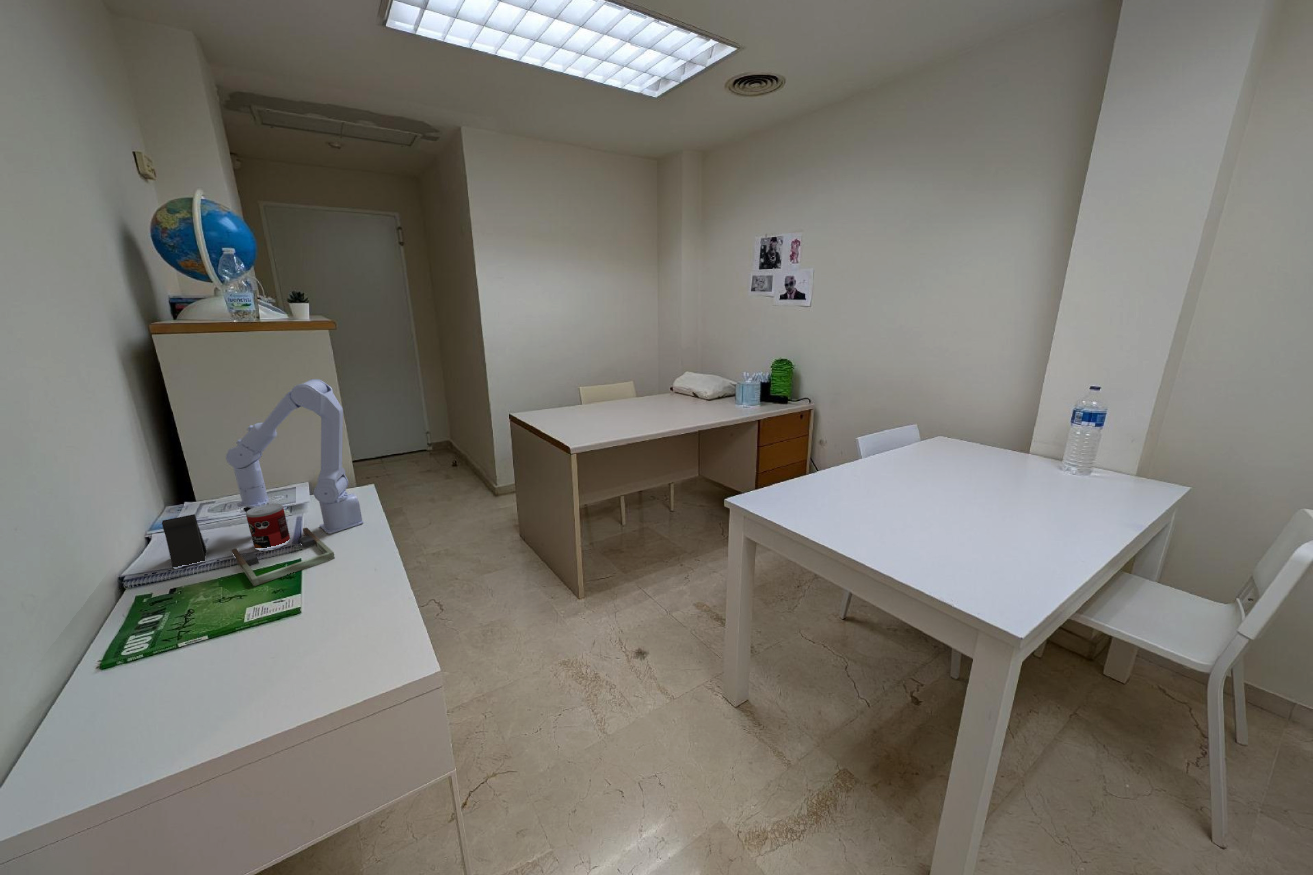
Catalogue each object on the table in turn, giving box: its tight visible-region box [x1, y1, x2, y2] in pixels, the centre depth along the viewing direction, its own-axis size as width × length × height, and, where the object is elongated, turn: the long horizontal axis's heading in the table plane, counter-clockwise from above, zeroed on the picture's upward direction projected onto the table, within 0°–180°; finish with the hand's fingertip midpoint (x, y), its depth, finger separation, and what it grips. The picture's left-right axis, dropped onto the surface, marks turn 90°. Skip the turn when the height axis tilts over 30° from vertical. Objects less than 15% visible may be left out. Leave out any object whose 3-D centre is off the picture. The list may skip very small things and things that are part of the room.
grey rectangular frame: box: [231, 527, 336, 587], centre depth 127 cm, size 17×22×2 cm
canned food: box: [245, 502, 291, 549], centre depth 132 cm, size 8×8×11 cm
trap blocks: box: [241, 535, 316, 567], centre depth 129 cm, size 15×4×2 cm, turn 141°
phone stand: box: [161, 513, 207, 568], centre depth 124 cm, size 9×6×12 cm, turn 40°
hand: (262, 528), depth 139 cm, fingers closed
